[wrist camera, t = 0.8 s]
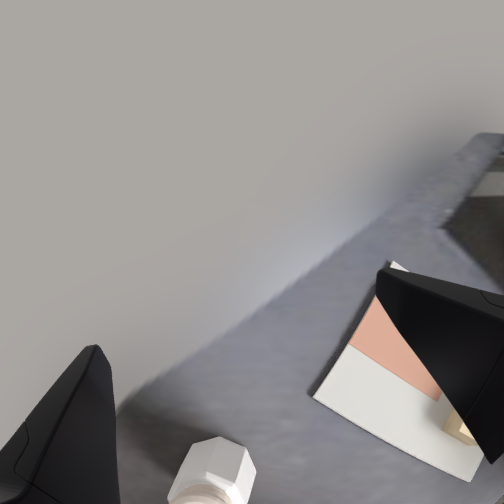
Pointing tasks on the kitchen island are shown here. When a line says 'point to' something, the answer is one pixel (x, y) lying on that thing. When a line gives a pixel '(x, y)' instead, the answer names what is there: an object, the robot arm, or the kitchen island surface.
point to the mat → (395, 395)
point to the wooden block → (458, 429)
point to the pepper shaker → (214, 474)
